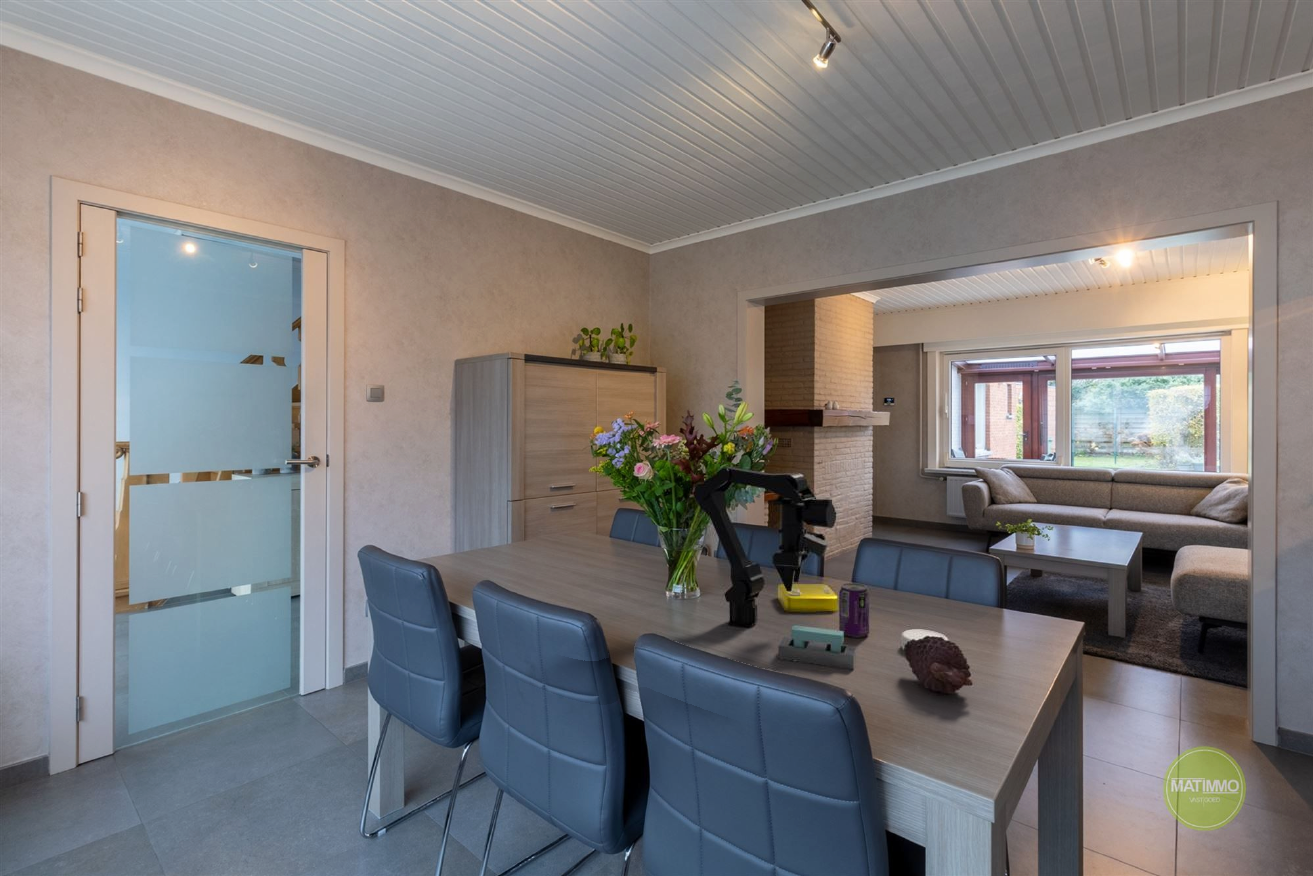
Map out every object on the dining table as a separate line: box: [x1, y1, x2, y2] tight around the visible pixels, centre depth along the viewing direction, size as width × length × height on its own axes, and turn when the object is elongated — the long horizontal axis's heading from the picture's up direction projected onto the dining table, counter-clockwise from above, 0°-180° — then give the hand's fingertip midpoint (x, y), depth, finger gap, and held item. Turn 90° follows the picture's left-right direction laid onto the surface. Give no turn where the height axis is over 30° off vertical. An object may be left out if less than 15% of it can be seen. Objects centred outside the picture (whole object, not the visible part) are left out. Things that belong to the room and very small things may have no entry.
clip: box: [790, 624, 845, 653], centre depth 134 cm, size 11×3×6 cm, turn 67°
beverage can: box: [838, 582, 870, 638], centre depth 150 cm, size 7×7×12 cm
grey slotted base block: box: [777, 636, 857, 671], centre depth 134 cm, size 16×6×3 cm, turn 67°
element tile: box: [777, 583, 839, 613], centre depth 176 cm, size 15×15×5 cm
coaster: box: [900, 628, 950, 651], centre depth 139 cm, size 10×10×4 cm
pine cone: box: [903, 636, 973, 695], centre depth 119 cm, size 18×10×10 cm, turn 12°
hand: (792, 586), depth 150 cm, fingers open, 9 cm apart
